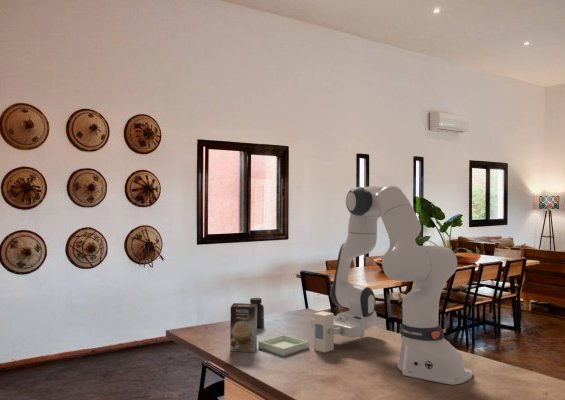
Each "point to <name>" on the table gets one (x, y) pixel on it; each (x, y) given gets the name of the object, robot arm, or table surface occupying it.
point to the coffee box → (243, 327)
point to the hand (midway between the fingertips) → (322, 330)
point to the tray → (283, 345)
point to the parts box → (323, 331)
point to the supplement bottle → (259, 311)
